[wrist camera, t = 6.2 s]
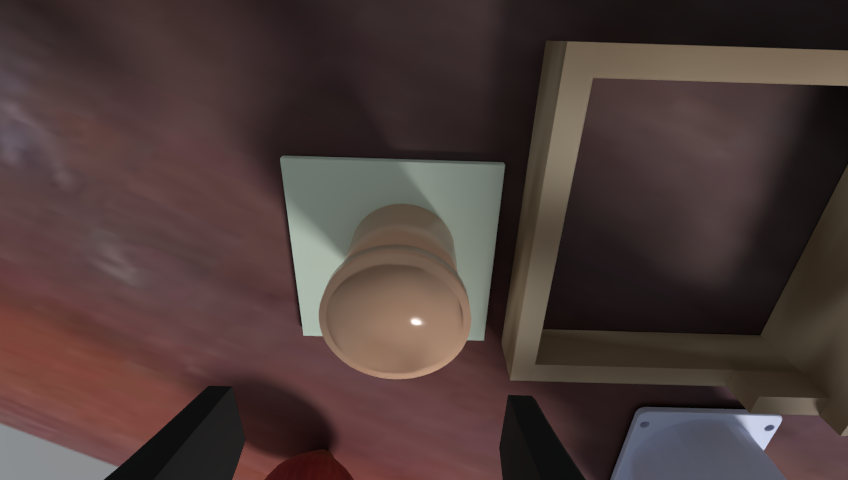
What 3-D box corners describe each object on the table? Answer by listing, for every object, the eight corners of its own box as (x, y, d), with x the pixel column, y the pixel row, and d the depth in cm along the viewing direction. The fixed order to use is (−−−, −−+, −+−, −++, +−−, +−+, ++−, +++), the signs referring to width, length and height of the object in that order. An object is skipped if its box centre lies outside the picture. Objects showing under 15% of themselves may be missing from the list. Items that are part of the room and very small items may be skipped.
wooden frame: (771, 351, 21) (864, 436, 16) (501, 343, 21) (521, 427, 16) (932, 52, 15) (1154, 60, 10) (545, 40, 15) (598, 42, 10)
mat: (482, 335, 21) (483, 340, 20) (305, 330, 21) (303, 335, 20) (503, 162, 17) (505, 165, 16) (282, 155, 17) (279, 158, 16)
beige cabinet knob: (455, 301, 19) (463, 381, 15) (347, 296, 19) (323, 376, 15) (465, 201, 17) (479, 260, 12) (343, 195, 17) (313, 252, 12)
